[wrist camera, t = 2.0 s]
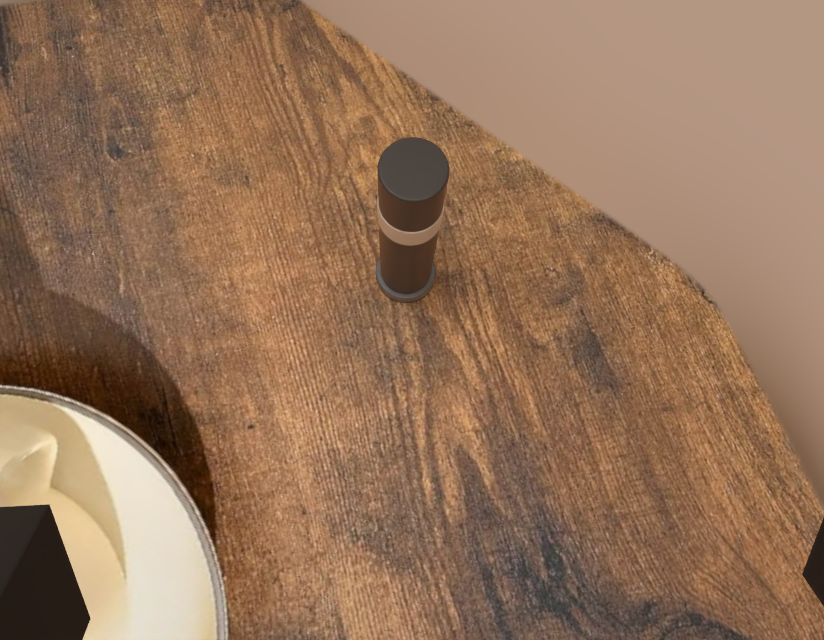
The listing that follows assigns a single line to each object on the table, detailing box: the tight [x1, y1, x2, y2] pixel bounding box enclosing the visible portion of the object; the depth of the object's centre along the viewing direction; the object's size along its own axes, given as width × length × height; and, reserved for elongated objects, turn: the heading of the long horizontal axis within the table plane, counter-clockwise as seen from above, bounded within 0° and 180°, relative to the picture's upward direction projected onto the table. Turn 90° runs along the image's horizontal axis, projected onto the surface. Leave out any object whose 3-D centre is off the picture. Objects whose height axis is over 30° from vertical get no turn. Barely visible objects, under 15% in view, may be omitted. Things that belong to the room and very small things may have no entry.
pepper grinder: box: [376, 137, 449, 302], centre depth 26 cm, size 3×3×10 cm
